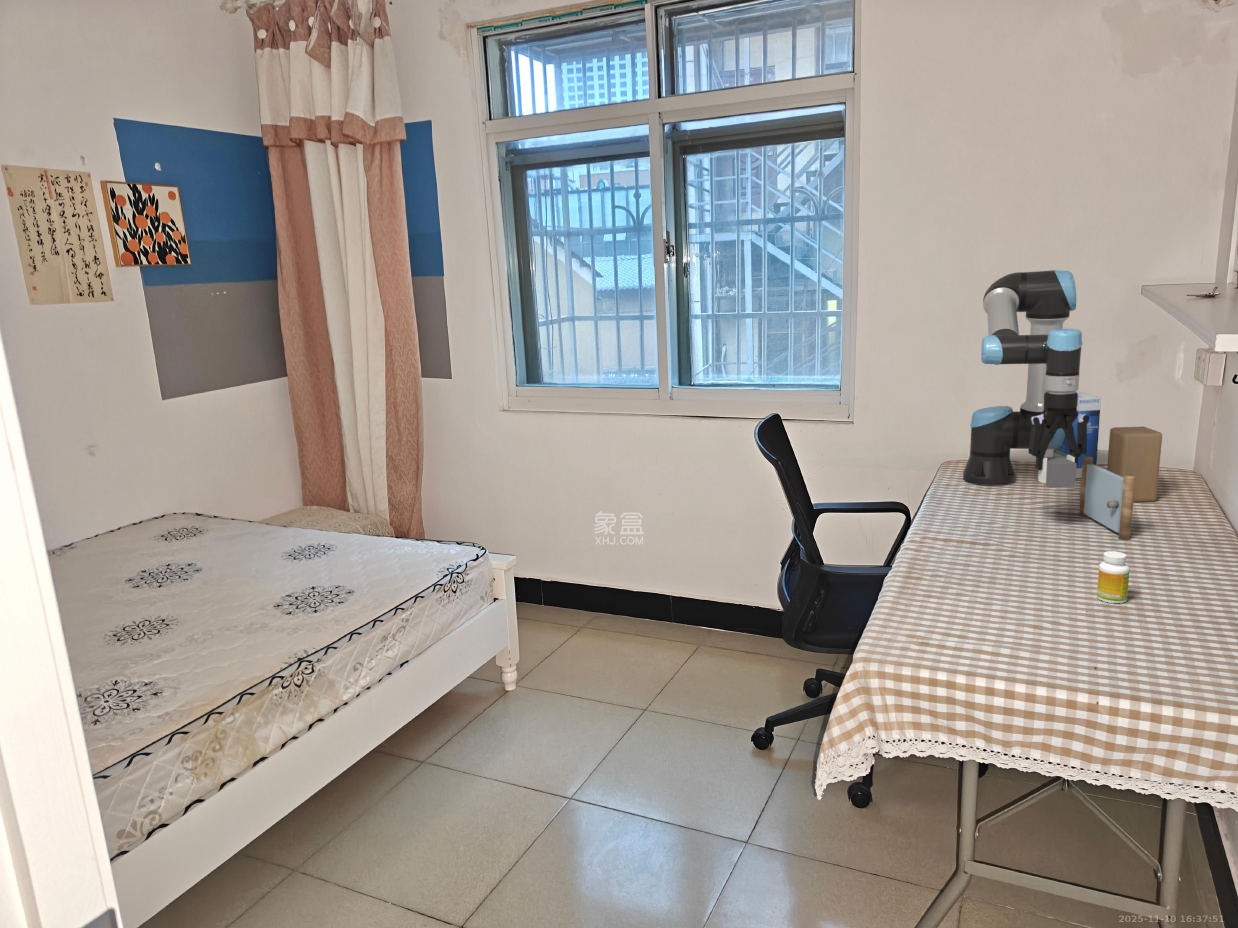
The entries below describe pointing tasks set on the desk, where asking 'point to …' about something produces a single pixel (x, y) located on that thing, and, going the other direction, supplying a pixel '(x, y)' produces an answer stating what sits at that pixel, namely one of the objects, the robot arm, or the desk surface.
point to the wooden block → (1136, 458)
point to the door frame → (1126, 500)
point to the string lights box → (1091, 408)
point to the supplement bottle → (1113, 578)
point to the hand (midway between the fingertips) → (1055, 481)
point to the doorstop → (1060, 472)
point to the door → (1103, 496)
